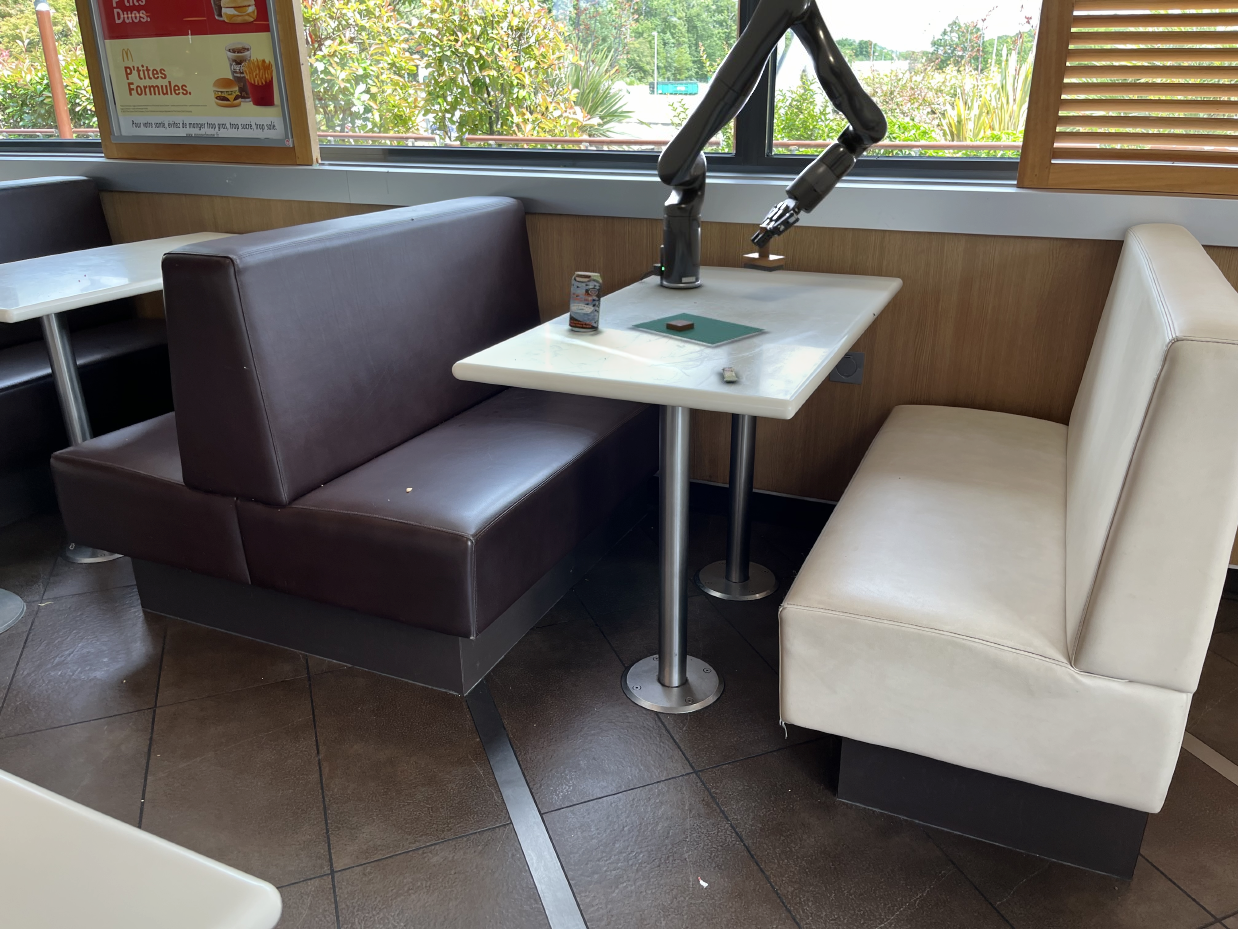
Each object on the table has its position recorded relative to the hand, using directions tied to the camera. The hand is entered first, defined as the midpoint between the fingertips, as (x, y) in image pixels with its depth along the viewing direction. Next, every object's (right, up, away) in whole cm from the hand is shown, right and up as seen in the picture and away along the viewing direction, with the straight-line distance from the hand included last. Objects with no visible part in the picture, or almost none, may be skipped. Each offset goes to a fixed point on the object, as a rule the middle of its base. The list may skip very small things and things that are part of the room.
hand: (755, 244), depth 199 cm
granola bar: (-12, -35, -49) cm, 62 cm away
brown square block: (-18, -22, -19) cm, 34 cm away
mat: (-15, -22, -19) cm, 32 cm away
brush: (+2, -5, +2) cm, 6 cm away
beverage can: (-37, -22, -18) cm, 47 cm away
